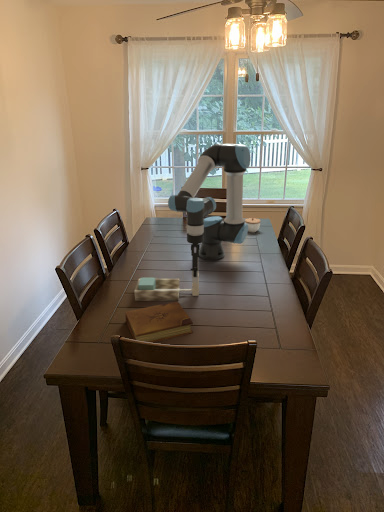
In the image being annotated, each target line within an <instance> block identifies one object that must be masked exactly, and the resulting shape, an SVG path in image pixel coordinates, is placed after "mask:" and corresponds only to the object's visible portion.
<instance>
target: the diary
mask: <svg viewBox="0 0 384 512" xmlns="http://www.w3.org/2000/svg"><path fill="white" fill-rule="evenodd" d="M124 315H125V322H126V325H127V328H128V329H129V331H130V334H131V336H132V339H133V340H134V339H135V340H140V341H148V342H153V343H156V342H155V341H157V342H160V341H164V340H169V339H173V338H178V337H181V336H186V335H190V334H189V333H191V334H193V333H194V332H193V330H192V328H191V327H192V325H193V324H194V322H193V320H192V319H191V318H190V316H189V314H188V313H187V312H186V310H185V309H184V308H183V306H182V305H181V304H180V302H179V300H178V301H171V302H166V303H161V304H157V305H152V306H147V307H142V308H138V309H137V308H136V309H132V310H128V311H125V312H124ZM185 334H186V335H185Z"/></svg>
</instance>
